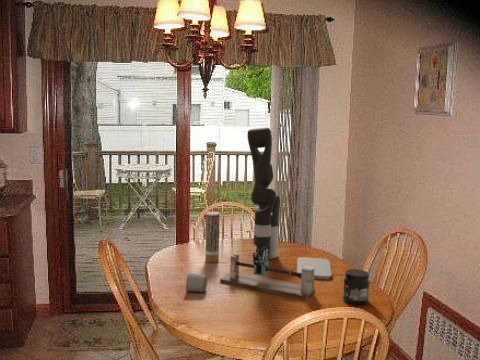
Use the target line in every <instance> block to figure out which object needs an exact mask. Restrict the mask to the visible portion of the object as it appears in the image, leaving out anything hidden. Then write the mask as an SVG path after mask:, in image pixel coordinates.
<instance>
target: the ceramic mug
mask: <svg viewBox="0 0 480 360" xmlns="http://www.w3.org/2000/svg"><path fill="white" fill-rule="evenodd" d="M185 282H186V283H185V289H186V290H185V291H186V292H192V293H193V292H195V293H196V292H197V293H205V292H206V290H207V287H208V276H207V274H206V275H205V274H201V273H195V272H188V273H187V276H186V280H185Z"/></svg>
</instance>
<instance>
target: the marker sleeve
mask: <svg viewBox="0 0 480 360" xmlns="http://www.w3.org/2000/svg"><path fill="white" fill-rule="evenodd" d="M269 263H270V261H269V259H267V260H263V261H262V267H261V274H258V273H256V265H254V268H253V275H255V276H260V277H265V276H266V275H267V274H268V273H269V271H266V270H265V268H266V267H269Z"/></svg>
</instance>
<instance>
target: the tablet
mask: <svg viewBox="0 0 480 360" xmlns="http://www.w3.org/2000/svg"><path fill="white" fill-rule="evenodd" d="M305 266H309V267H314V268H315V270H314V280H316V279H317V280H330V279H331V278H332V276H333V273H332V268H331V263H330V259H326V258H321V257H320V258H319V257H306V256H303V257H300V256H299V257H297V259H296V272H297V273H302V269H303V268H304V267H305ZM329 278H330V279H329Z"/></svg>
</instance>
